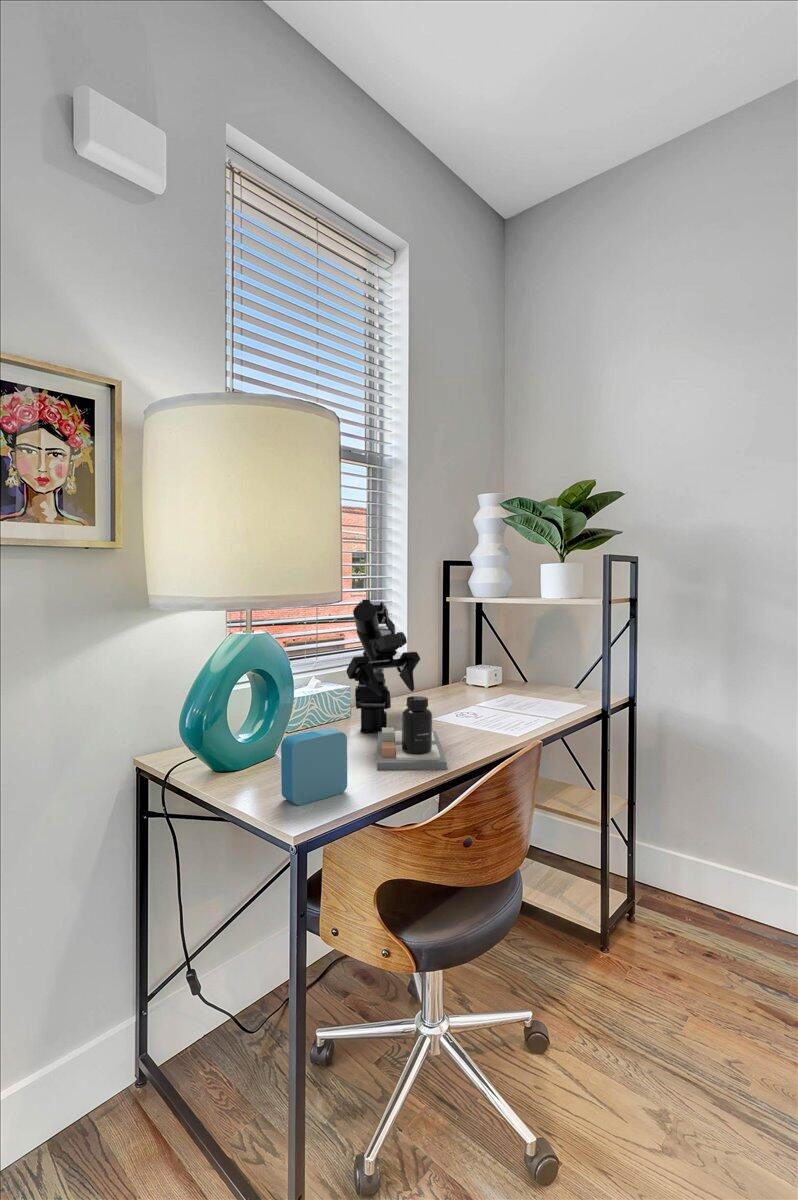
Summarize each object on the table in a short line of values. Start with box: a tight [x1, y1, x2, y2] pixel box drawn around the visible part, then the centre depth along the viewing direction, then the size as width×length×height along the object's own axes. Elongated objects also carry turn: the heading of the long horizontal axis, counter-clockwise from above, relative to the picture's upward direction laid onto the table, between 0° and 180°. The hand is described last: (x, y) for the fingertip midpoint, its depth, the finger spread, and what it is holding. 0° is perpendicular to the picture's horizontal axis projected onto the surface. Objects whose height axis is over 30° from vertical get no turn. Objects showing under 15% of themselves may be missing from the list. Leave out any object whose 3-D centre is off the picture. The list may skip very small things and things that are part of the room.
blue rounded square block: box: [280, 727, 348, 806], centre depth 114 cm, size 12×4×12 cm, turn 130°
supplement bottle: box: [401, 695, 433, 754], centre depth 136 cm, size 7×7×12 cm
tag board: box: [376, 727, 448, 771], centre depth 143 cm, size 15×26×4 cm, turn 1°
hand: (397, 692), depth 145 cm, fingers open, 9 cm apart
